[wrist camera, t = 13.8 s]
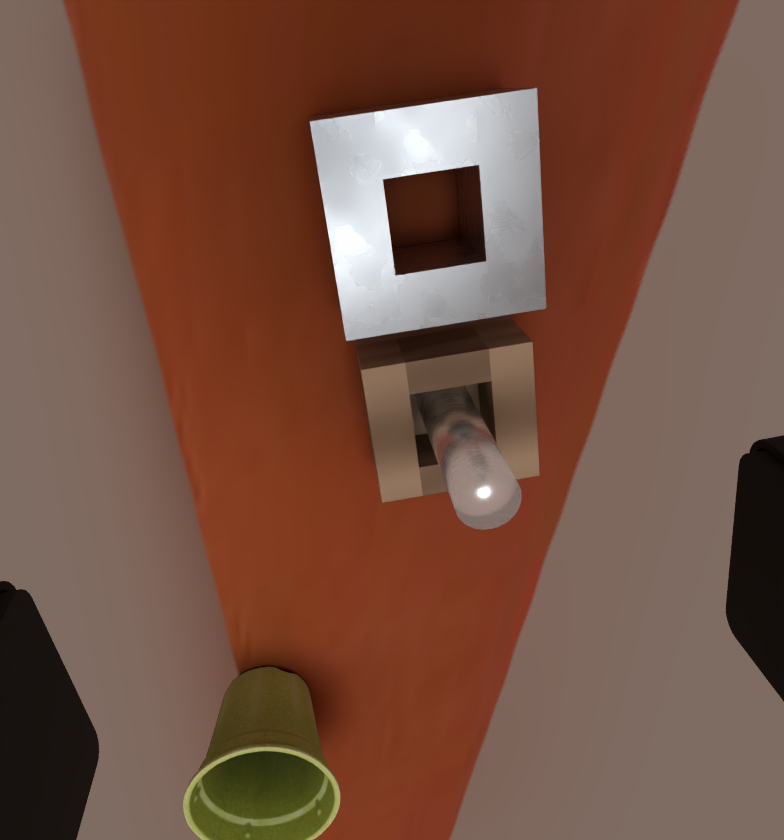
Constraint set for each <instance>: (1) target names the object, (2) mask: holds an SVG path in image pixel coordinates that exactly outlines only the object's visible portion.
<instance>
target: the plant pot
mask: <svg viewBox="0 0 784 840" xmlns="http://www.w3.org/2000/svg"><path fill="white" fill-rule="evenodd" d="M339 805H340V790H339V785H338V782H337V779H336V777H335V775H334V774H333V772H332V771H331V770H330V768H329V767H328V764H327V762H326V760H325V758H324V756H323V754H322V750H321V745H320V740H319V736H318V731H317V726H316V721H315V716H314V711H313V706H312V701H311V696H310V691H309V689H308V686H307V685H306V683H305V682H304V681H303V680H302V679H301V678H300V677H299V676H298V675H296V674H294V673H288V672H285V671H282V670H280V669H278V668H276V667H261V668H256V669H252V670H250V671H247V672H245V673H243V674H241V675H240V676H238V677H237V678H236V679H234V680H233V682H232V683H231V685H230V686H229V688H228V689H227V691H226V693H225V695H224V699H223V701H222V705H221V708H220V712H219V715H218V719H217V723H216V726H215V729H214V733H213V736H212V739H211V742H210V746H209V749H208V752H207V755H206V758H205V760H204V761H203V763H202V764H201V766H200V768H199V770H198V772H197V773H196V774H195V775H194V776H193V778H192V779H191V781H190V782H189V784H188V786H187V789H186V792H185V796H184V801H183V809H184V814H185V818H186V821H187V823H188V825H189V826H190V828H191V829H192V830H193V831H194V833H195V834H196V835H197V836H198V837H199V838H201V839H202V840H314V839H315V838H316V837H318V836H319V835H320V834H321V833H322V832H323V831H324V830H325V829H326V828H327V827H328V826H329V825H330V824H331V823H332V821H333V820H334V818H335V816H336V814H337V811H338V809H339Z"/></svg>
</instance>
